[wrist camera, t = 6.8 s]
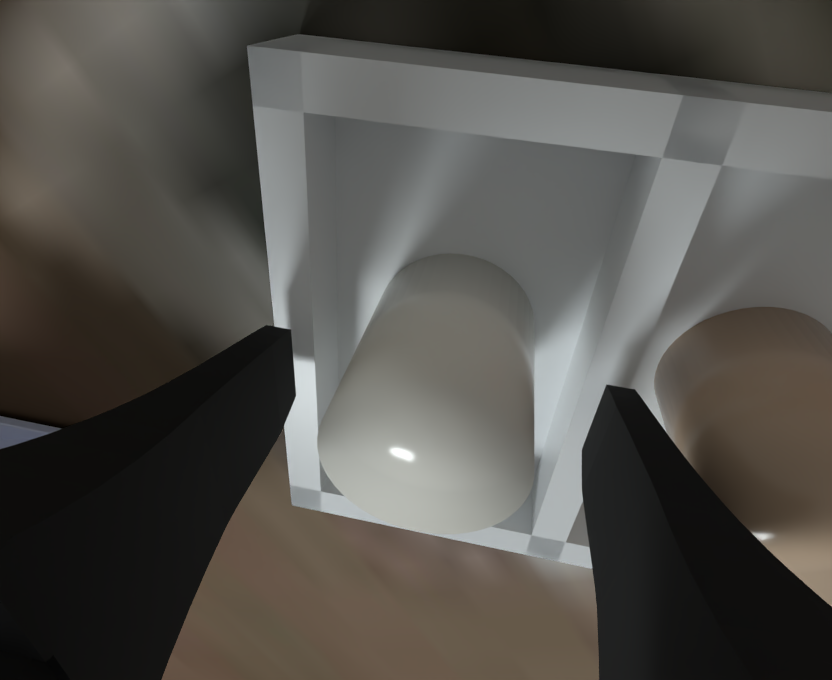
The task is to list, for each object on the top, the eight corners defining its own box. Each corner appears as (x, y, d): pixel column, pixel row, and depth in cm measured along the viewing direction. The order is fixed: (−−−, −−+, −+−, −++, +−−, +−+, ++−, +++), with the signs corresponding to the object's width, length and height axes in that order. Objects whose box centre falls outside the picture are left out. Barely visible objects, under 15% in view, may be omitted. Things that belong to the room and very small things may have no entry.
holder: (318, 448, 19) (291, 505, 17) (298, 34, 11) (246, 45, 9) (784, 541, 17) (819, 616, 15) (1130, 126, 10) (1290, 164, 8)
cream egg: (379, 374, 15) (324, 513, 11) (378, 244, 13) (308, 363, 9) (521, 395, 15) (516, 549, 11) (548, 264, 12) (553, 400, 8)
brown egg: (632, 421, 15) (670, 588, 11) (689, 293, 12) (765, 446, 8) (789, 449, 14) (890, 635, 10) (880, 322, 12) (1060, 499, 8)
